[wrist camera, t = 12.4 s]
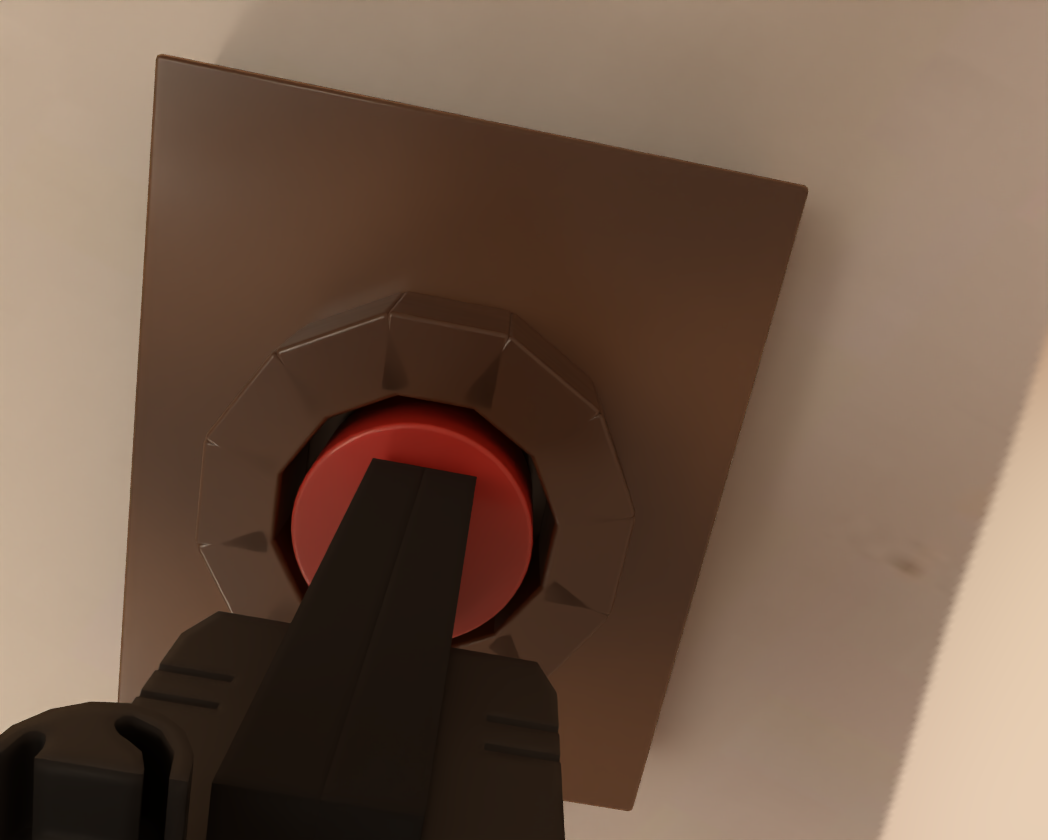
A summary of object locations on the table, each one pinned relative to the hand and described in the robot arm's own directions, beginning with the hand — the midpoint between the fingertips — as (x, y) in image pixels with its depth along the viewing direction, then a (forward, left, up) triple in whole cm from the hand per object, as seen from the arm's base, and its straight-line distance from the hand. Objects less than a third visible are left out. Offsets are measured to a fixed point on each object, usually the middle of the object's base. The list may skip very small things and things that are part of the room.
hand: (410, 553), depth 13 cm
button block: (0, 0, -5) cm, 5 cm away
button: (0, 0, -2) cm, 2 cm away
